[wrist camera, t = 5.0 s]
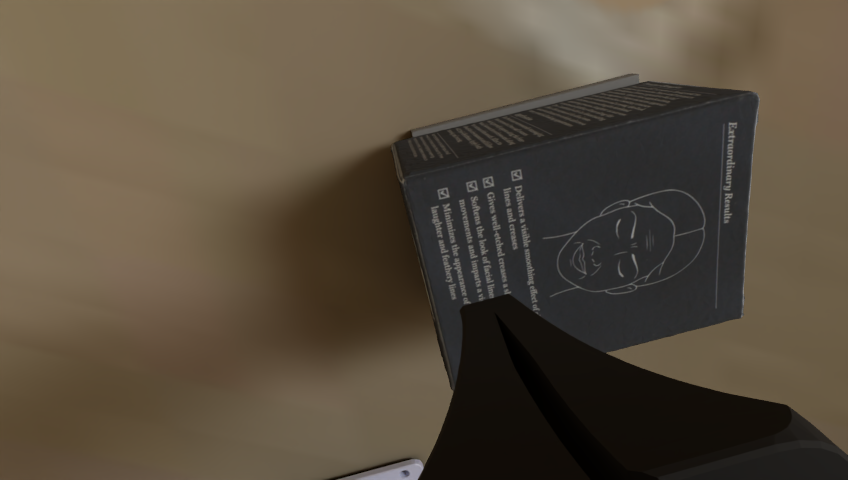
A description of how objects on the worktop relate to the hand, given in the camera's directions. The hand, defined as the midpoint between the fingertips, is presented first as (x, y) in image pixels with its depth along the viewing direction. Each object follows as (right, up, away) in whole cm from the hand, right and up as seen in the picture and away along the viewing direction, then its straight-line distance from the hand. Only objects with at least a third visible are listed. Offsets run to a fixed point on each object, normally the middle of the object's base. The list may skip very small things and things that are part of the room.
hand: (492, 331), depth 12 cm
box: (-2, +2, +5) cm, 5 cm away
